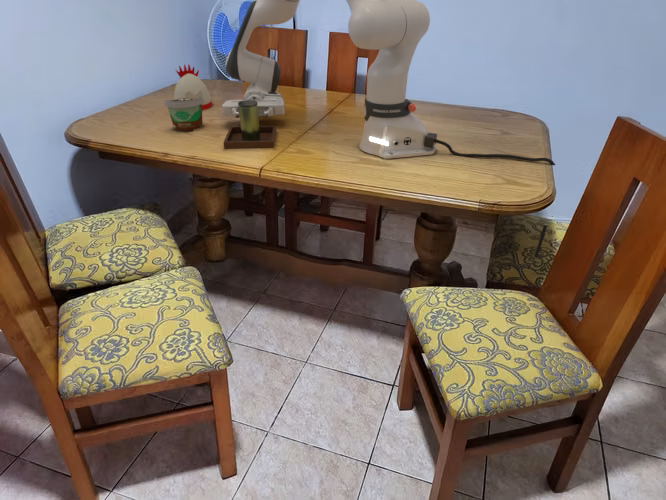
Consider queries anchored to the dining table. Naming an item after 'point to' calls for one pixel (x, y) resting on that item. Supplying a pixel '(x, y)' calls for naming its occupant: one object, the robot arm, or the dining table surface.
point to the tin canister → (249, 120)
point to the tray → (235, 141)
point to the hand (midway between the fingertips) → (251, 115)
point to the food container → (185, 113)
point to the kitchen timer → (191, 87)
